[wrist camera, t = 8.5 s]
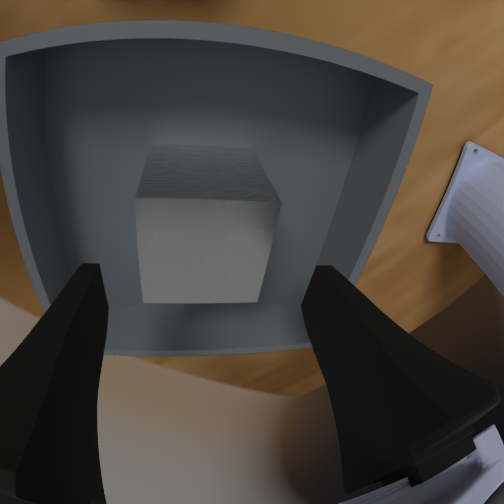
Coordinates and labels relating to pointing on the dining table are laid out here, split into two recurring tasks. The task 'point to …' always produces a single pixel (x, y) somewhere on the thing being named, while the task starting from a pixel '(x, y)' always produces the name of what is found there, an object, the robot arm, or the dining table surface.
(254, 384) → the dining table surface
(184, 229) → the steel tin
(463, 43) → the dining table surface
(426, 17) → the dining table surface
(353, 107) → the tote
